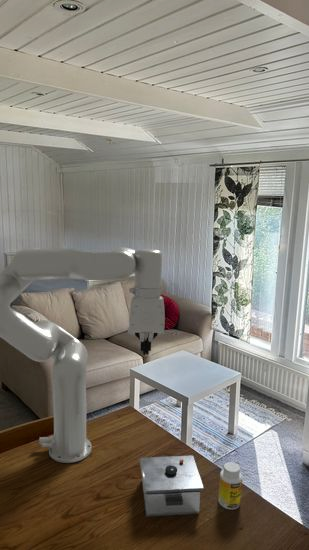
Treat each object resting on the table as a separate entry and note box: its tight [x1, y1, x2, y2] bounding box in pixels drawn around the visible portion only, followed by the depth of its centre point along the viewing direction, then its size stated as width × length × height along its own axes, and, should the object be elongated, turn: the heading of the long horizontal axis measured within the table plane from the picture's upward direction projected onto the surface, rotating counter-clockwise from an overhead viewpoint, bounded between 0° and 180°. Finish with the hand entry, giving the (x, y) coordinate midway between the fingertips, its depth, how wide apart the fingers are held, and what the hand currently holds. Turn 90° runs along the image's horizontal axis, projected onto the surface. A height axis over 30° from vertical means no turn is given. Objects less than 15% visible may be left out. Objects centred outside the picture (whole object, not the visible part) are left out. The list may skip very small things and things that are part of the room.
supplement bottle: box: [217, 461, 243, 510], centre depth 104 cm, size 6×6×10 cm
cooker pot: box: [141, 481, 201, 518], centre depth 106 cm, size 13×16×6 cm
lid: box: [139, 455, 205, 495], centre depth 105 cm, size 15×13×2 cm
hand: (145, 353), depth 121 cm, fingers closed
